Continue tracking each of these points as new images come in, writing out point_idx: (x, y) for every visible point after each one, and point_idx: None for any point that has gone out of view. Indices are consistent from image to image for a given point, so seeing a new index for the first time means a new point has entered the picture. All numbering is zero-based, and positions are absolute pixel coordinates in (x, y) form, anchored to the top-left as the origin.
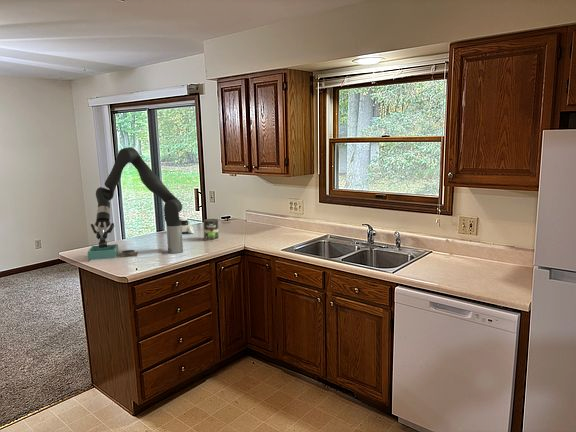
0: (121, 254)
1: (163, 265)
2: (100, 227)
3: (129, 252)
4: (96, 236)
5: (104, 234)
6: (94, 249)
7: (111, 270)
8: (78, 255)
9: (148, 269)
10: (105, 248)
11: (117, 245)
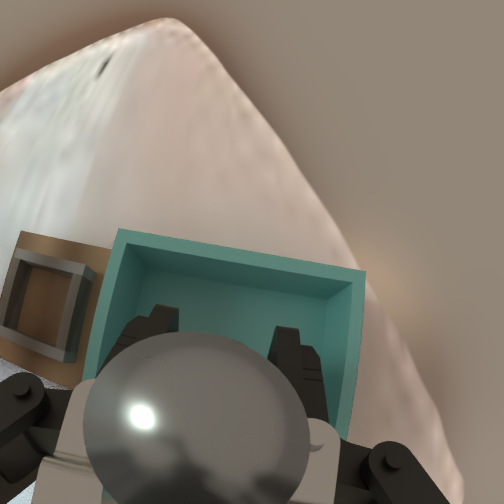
0: (87, 267)
1: (16, 88)
2: (230, 444)
3: (33, 262)
4: (317, 356)
5: None
6: None
7: (202, 73)
8: None
9: (75, 57)
10: None
11: None
